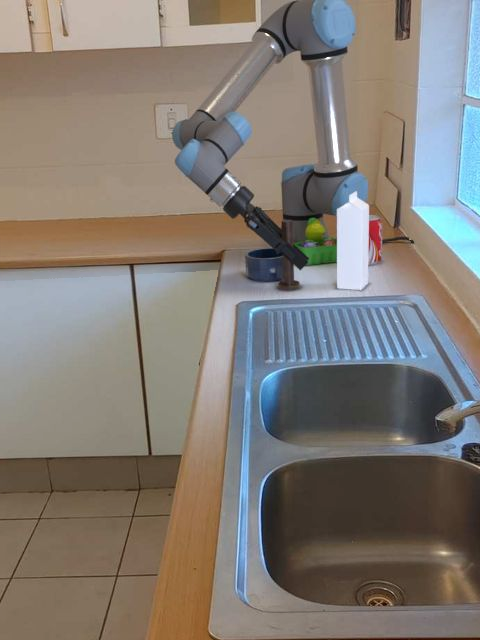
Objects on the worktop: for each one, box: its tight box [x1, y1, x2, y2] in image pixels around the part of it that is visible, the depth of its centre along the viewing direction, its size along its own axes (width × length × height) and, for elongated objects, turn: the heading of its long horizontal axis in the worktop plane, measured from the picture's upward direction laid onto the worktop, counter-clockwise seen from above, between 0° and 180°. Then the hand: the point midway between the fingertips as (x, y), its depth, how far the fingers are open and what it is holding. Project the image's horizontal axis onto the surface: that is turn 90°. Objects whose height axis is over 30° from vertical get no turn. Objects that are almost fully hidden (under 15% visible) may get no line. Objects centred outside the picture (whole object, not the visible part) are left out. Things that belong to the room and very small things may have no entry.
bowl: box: [244, 247, 283, 282], centre depth 191 cm, size 11×12×6 cm
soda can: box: [368, 214, 383, 266], centre depth 197 cm, size 7×7×12 cm
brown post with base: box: [277, 219, 301, 292], centre depth 179 cm, size 5×5×16 cm
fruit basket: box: [295, 218, 337, 266], centre depth 201 cm, size 11×9×11 cm
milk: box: [336, 191, 370, 291], centre depth 176 cm, size 6×6×22 cm
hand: (304, 264), depth 179 cm, fingers closed on brown post with base, 3 cm apart
